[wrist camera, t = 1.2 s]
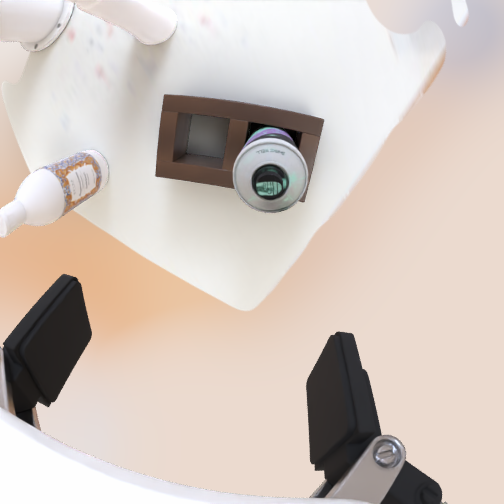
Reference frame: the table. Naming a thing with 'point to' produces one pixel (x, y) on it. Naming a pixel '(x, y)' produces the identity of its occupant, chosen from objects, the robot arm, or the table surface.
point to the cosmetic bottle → (134, 17)
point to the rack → (241, 116)
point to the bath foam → (55, 191)
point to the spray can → (270, 171)
